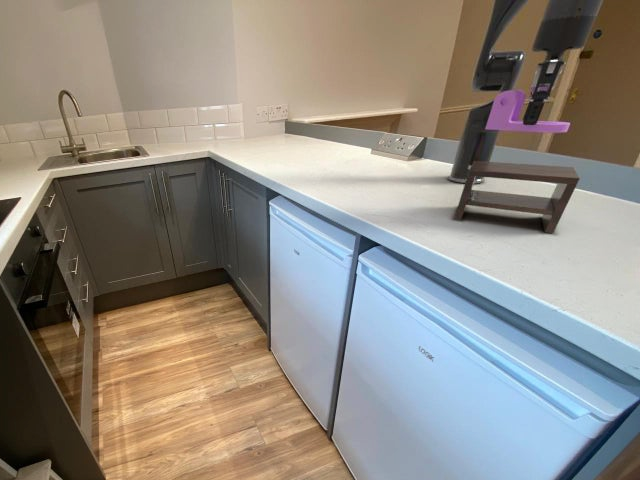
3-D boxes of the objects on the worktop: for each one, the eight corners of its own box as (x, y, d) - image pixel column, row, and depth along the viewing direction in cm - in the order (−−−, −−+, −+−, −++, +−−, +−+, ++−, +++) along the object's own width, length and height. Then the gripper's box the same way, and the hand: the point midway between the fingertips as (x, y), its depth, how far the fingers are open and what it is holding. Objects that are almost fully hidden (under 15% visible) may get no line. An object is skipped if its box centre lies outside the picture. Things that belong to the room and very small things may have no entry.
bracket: (485, 129, 72) (497, 90, 68) (495, 126, 75) (507, 89, 71) (561, 133, 63) (580, 89, 59) (570, 130, 66) (589, 88, 62)
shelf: (459, 206, 86) (474, 160, 80) (549, 218, 77) (573, 167, 71) (453, 219, 78) (469, 169, 72) (553, 233, 69) (580, 178, 64)
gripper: (604, 8, 53) (554, 127, 62) (591, 18, 62) (550, 120, 71) (543, 14, 56) (504, 126, 65) (540, 23, 66) (507, 119, 75)
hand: (528, 122), depth 68 cm, fingers closed on bracket, 6 cm apart
